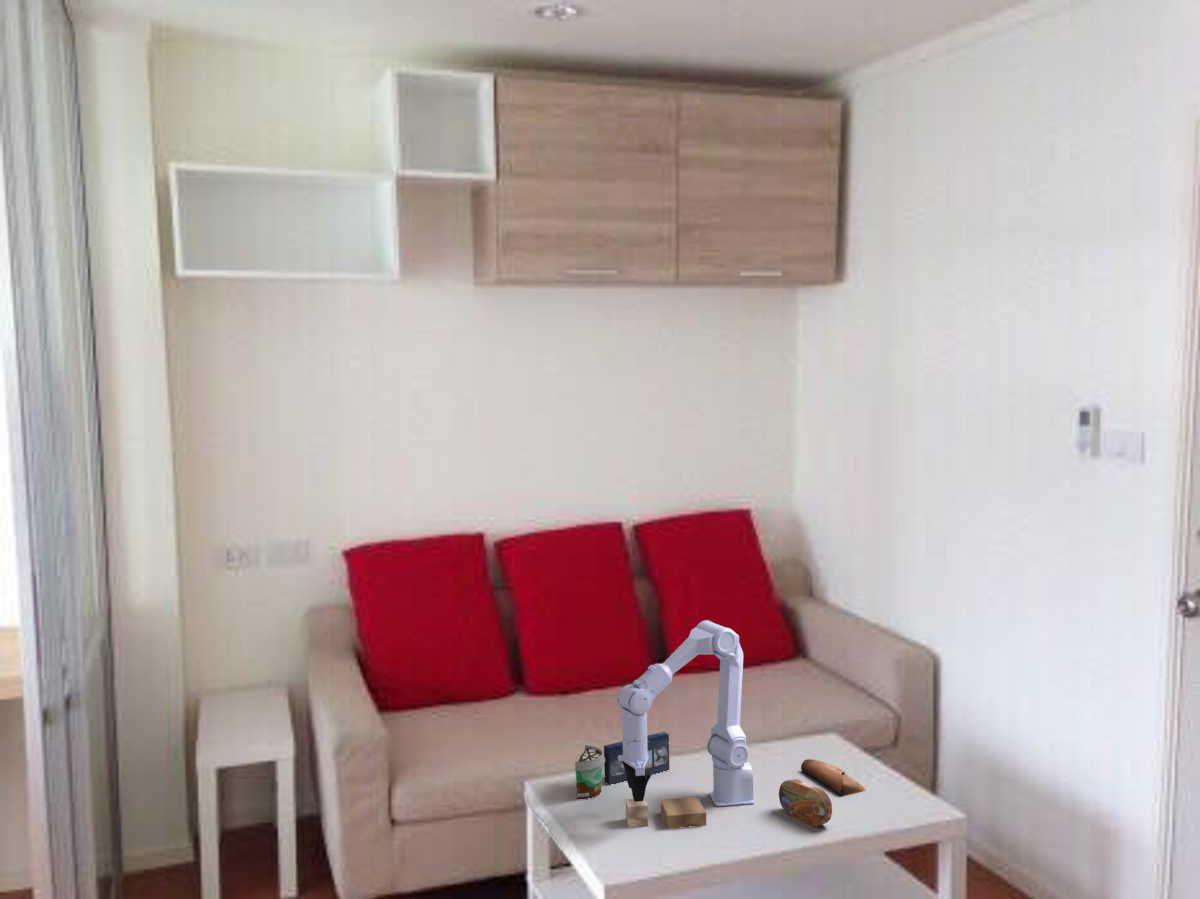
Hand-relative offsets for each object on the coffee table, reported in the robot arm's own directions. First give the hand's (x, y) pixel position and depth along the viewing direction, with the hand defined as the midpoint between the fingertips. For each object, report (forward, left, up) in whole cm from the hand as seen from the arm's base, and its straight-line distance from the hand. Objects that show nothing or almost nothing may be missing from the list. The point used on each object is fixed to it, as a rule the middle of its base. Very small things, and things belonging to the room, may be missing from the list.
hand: (636, 794), depth 258 cm
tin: (-39, +5, -7) cm, 40 cm away
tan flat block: (-11, 0, -7) cm, 13 cm away
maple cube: (0, 0, -7) cm, 7 cm away
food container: (+8, -19, -7) cm, 22 cm away
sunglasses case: (-53, -15, -8) cm, 55 cm away
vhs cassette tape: (-5, -27, -7) cm, 28 cm away
